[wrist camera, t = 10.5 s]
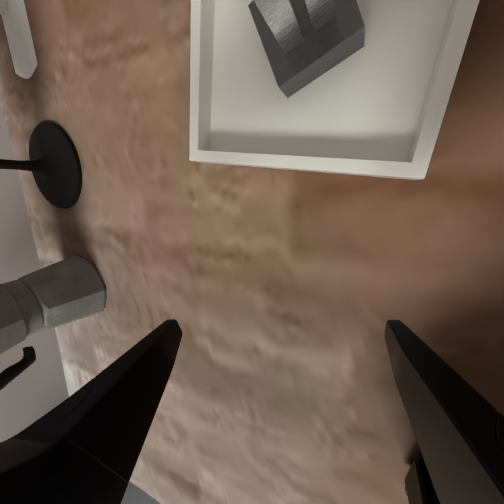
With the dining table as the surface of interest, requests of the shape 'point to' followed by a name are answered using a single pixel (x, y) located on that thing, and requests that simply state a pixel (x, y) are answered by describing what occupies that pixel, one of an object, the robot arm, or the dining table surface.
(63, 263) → the coffeepot
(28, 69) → the heart sculpture
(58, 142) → the wine glass
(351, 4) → the silver cylinder with base
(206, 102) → the ceramic tray
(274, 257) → the dining table surface
